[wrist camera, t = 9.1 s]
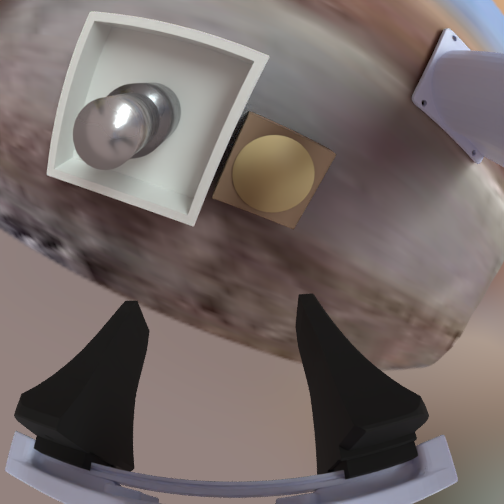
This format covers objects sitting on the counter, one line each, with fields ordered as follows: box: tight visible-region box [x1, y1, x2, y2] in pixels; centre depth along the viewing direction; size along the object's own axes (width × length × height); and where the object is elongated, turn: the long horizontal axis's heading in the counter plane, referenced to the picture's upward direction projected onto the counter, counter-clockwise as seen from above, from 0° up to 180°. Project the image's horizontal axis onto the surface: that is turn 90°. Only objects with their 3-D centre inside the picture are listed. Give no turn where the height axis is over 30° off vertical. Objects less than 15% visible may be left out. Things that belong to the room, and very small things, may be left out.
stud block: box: [212, 111, 336, 229], centre depth 18 cm, size 6×6×2 cm
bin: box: [47, 11, 270, 227], centre depth 15 cm, size 11×11×3 cm
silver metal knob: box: [73, 82, 181, 170], centre depth 13 cm, size 4×4×7 cm
